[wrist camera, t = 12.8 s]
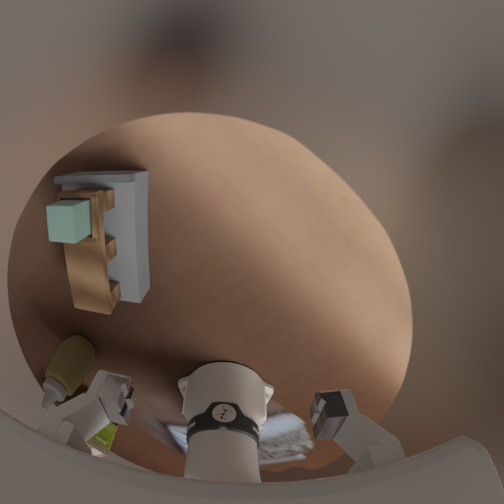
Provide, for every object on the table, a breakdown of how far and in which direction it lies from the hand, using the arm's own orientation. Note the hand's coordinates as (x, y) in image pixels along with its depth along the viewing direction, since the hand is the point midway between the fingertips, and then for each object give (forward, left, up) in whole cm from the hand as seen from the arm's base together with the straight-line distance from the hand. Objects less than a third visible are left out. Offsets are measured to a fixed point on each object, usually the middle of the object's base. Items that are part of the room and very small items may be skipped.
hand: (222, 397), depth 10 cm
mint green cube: (+2, +19, -20) cm, 27 cm away
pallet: (-3, +19, -24) cm, 31 cm away
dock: (-2, +19, -29) cm, 35 cm away
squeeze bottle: (-27, +30, -29) cm, 50 cm away
